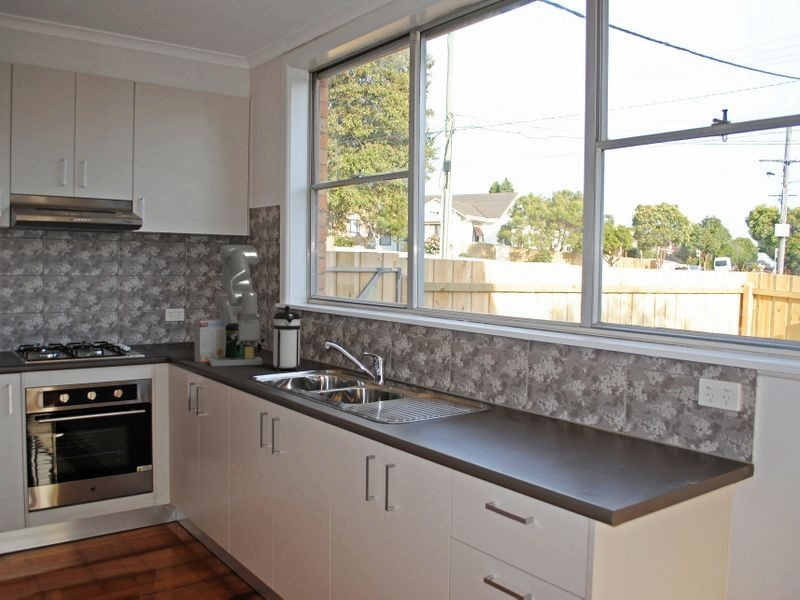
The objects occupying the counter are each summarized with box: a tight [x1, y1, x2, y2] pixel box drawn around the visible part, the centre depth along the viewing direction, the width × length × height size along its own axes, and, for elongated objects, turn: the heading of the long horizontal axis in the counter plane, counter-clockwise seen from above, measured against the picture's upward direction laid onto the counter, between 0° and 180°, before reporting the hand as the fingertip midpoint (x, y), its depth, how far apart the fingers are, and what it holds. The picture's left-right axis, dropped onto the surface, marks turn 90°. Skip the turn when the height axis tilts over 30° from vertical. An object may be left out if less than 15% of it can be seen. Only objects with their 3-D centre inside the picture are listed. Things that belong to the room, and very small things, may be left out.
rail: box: [209, 356, 263, 367], centre depth 349 cm, size 8×24×3 cm, turn 110°
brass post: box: [243, 346, 255, 359], centre depth 351 cm, size 4×4×8 cm
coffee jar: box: [225, 323, 244, 358], centre depth 369 cm, size 10×8×19 cm
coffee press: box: [271, 305, 302, 371], centre depth 338 cm, size 17×16×30 cm
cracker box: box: [193, 318, 225, 363], centre depth 359 cm, size 14×6×21 cm, turn 135°
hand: (248, 352), depth 351 cm, fingers open, 9 cm apart
